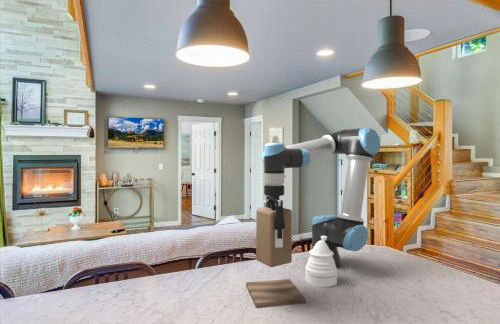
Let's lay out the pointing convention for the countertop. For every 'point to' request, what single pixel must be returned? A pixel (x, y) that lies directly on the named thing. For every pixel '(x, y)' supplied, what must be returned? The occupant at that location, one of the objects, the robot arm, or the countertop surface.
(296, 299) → the walnut board
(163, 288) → the countertop surface
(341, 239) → the robot arm
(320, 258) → the honey pot
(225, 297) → the countertop surface
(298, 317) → the countertop surface
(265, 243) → the wooden block
